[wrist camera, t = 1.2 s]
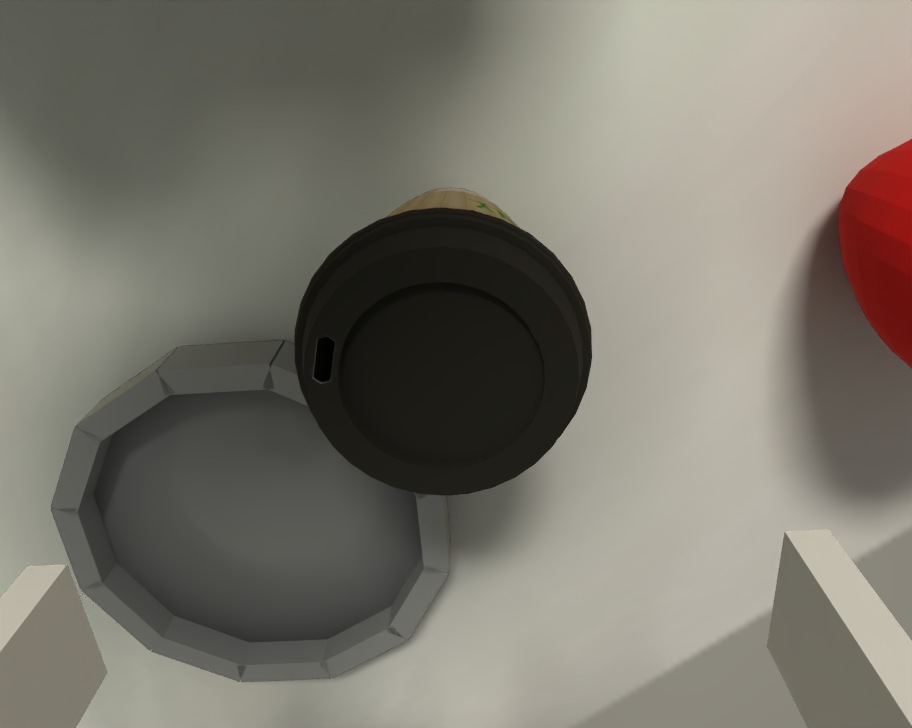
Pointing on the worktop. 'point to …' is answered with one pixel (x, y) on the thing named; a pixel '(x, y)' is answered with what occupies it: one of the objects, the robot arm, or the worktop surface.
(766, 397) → the worktop surface
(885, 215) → the tomato
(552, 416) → the coffee cup
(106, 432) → the tray
